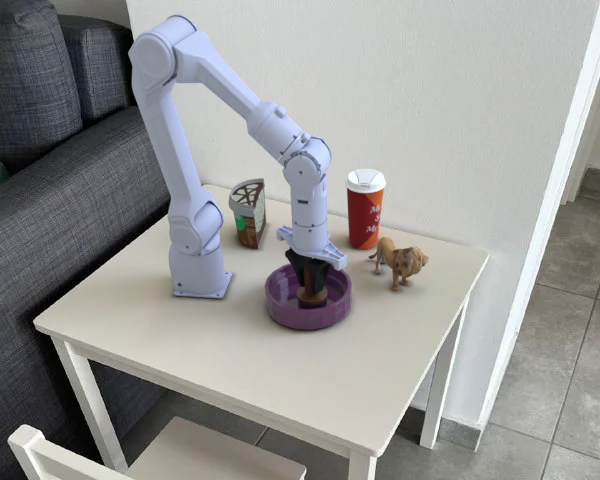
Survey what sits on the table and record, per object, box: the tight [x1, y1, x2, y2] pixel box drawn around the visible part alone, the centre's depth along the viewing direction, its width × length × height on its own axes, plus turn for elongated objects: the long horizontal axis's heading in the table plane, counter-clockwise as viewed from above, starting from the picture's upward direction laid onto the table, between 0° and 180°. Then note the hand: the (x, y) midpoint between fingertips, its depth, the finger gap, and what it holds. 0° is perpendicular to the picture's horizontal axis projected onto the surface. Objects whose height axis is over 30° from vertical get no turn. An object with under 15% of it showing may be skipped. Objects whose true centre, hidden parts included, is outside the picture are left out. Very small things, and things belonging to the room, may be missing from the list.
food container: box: [228, 177, 267, 250], centre depth 126 cm, size 12×6×10 cm, turn 172°
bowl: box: [264, 262, 353, 331], centre depth 111 cm, size 15×15×4 cm
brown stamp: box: [296, 266, 328, 310], centre depth 110 cm, size 6×6×7 cm
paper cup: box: [344, 168, 387, 250], centre depth 122 cm, size 8×8×14 cm
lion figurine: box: [368, 236, 430, 292], centre depth 115 cm, size 15×5×9 cm, turn 33°
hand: (311, 287), depth 110 cm, fingers closed on brown stamp, 2 cm apart
